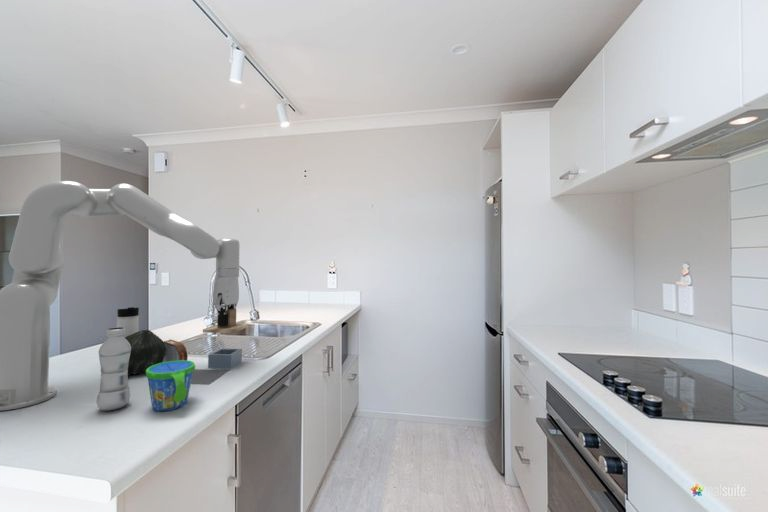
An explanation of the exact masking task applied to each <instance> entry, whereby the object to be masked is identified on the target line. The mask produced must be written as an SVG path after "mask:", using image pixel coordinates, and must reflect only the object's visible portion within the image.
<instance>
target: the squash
mask: <svg viewBox="0 0 768 512" xmlns="http://www.w3.org/2000/svg"><path fill="white" fill-rule="evenodd" d="M125 339H126V340H127V341H128V342H129V343H130V346H131V353H130V358H129V364H128V375H131V374H133V375H137V374H140V375H141V374H142V375H146V369H147V368H149V367H150V366H152V365H155V364H158V363H162V362H163V359H164V357H165V354H166V346H165V344H164V340H162V339H161V338H160V336H158V335H156V334H155V333H154V332H153V331H151V330H150V329H143V330H138V332H136V333H134V334H132V335H129V336H127V337H125Z"/></svg>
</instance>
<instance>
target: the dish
mask: <svg viewBox="0 0 768 512" xmlns="http://www.w3.org/2000/svg"><path fill="white" fill-rule="evenodd" d="M242 357H243V348H218V349H217V350H215V351H213V352H211V353H209V354H208V355H207V369H219V370H231V369H234V367H236V366H238V365H239V364H241V362H242V361H243V358H242Z"/></svg>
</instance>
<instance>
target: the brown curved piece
mask: <svg viewBox="0 0 768 512" xmlns="http://www.w3.org/2000/svg"><path fill="white" fill-rule="evenodd" d="M163 342H164V344H165V346H166V354H165V357H164V359H163V362H168V361H176V360H187V361H188V351H187V347H186V345H185V344H184V343H182V342H180V341H177V340H174V339H168V340H163Z"/></svg>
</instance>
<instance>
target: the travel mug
mask: <svg viewBox="0 0 768 512" xmlns="http://www.w3.org/2000/svg"><path fill="white" fill-rule="evenodd" d="M139 310H140V308H139V307H135V306H132V307H127V308H117V314H116V315H117V316H116V327H125V335H124V338H125V337H127V336H129V335H132V334H134V333H136V332H139V323H140V322H139V319H140V312H139Z"/></svg>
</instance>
